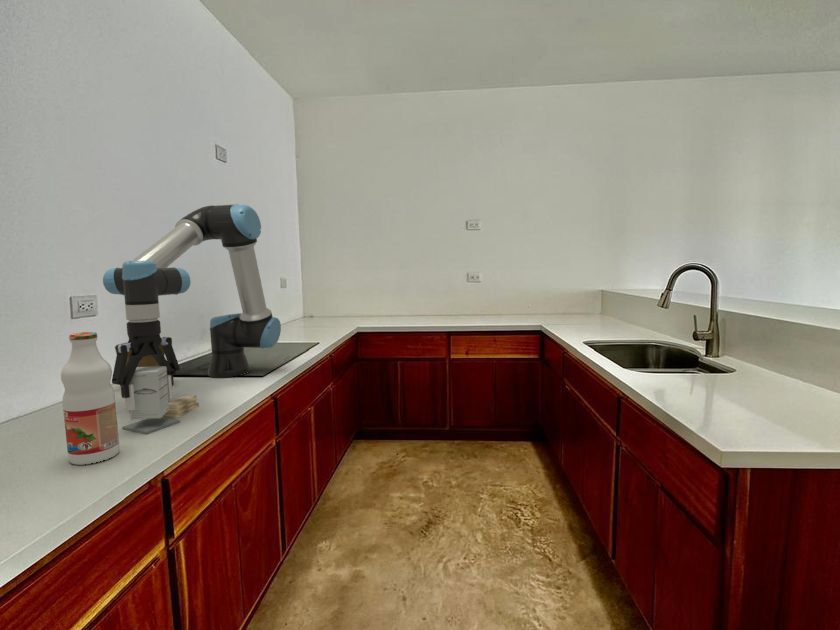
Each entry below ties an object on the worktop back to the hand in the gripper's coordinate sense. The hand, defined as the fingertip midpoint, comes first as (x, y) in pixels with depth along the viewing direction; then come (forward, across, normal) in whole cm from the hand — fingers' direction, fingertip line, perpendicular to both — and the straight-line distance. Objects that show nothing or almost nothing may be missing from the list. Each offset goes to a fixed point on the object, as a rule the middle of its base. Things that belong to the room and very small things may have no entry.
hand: (149, 403), depth 122 cm
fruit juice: (+6, +18, +7) cm, 21 cm away
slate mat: (+6, 0, 0) cm, 6 cm away
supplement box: (+3, 0, 0) cm, 3 cm away
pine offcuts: (+6, -11, -2) cm, 13 cm away
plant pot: (+6, -24, -37) cm, 44 cm away
